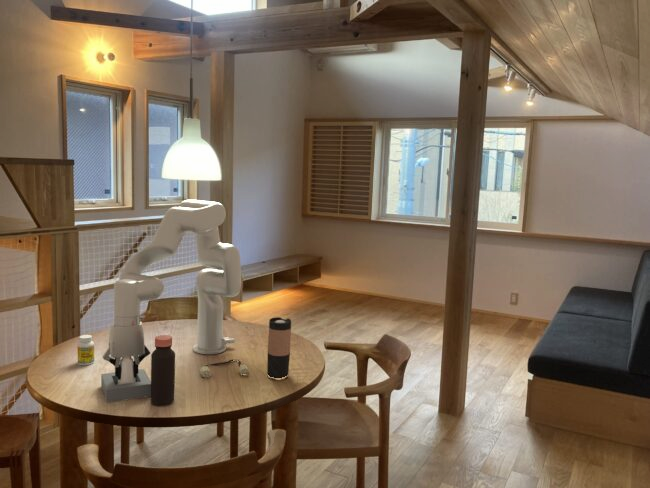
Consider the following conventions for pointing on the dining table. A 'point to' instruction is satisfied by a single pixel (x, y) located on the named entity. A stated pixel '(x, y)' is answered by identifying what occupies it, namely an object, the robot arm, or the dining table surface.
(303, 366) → the dining table surface
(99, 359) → the dining table surface
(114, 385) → the frame
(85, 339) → the supplement bottle
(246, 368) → the cable
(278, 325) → the travel mug
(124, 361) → the pepper shaker
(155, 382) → the dark brown water bottle
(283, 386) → the dining table surface
